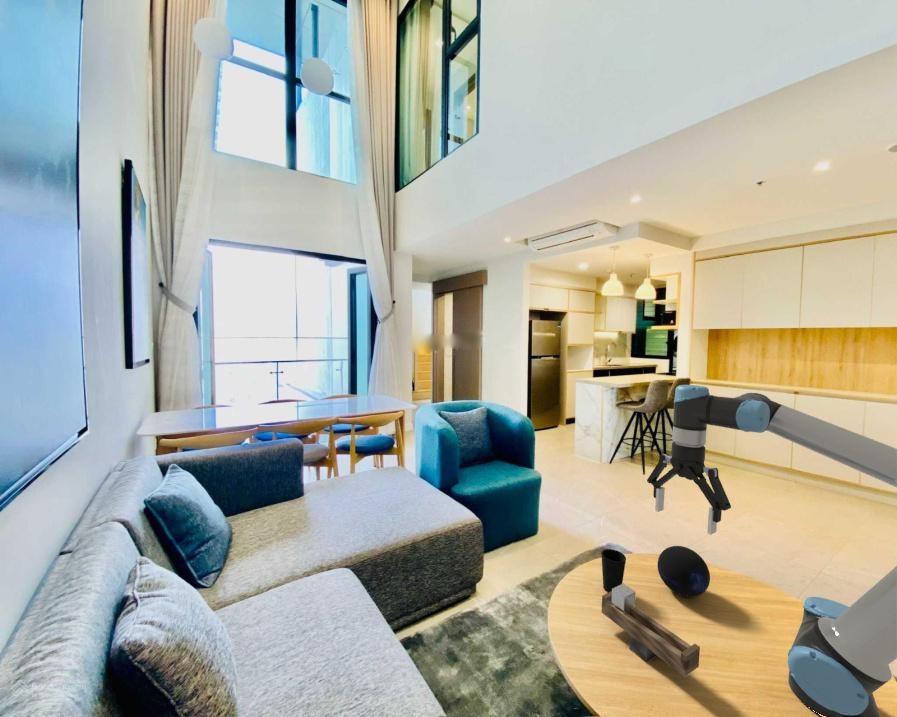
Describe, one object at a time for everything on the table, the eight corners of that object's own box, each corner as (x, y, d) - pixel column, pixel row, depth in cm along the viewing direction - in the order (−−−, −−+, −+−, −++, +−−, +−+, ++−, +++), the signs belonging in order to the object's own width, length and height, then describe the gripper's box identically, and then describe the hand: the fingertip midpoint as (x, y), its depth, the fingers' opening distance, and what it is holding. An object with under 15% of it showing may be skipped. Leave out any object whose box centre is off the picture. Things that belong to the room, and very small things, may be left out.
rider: (634, 613, 108) (635, 591, 108) (623, 619, 106) (624, 597, 105) (622, 604, 112) (623, 583, 111) (611, 610, 109) (612, 588, 109)
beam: (698, 681, 94) (700, 646, 94) (683, 693, 91) (685, 657, 90) (614, 617, 115) (615, 589, 114) (600, 625, 112) (601, 595, 111)
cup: (597, 590, 127) (598, 556, 126) (602, 579, 133) (604, 546, 133) (622, 600, 123) (623, 564, 122) (626, 587, 129) (627, 553, 128)
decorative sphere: (695, 614, 117) (698, 568, 116) (647, 587, 129) (649, 545, 128) (717, 596, 125) (719, 553, 124) (670, 572, 138) (672, 532, 137)
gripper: (751, 454, 91) (745, 539, 92) (651, 430, 112) (648, 499, 114) (735, 459, 87) (729, 547, 88) (636, 433, 109) (632, 505, 110)
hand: (684, 521), depth 101 cm, fingers open, 13 cm apart
